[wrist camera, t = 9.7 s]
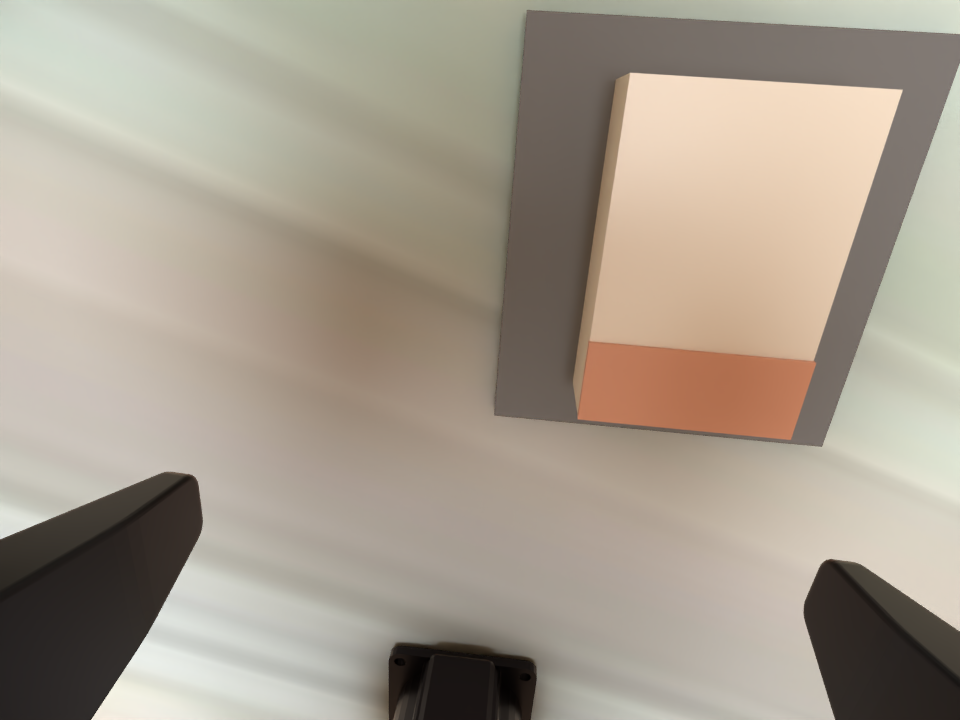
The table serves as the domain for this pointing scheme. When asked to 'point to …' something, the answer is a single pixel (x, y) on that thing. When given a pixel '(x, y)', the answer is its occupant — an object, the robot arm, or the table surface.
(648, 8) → the table surface
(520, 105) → the card mat
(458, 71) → the table surface
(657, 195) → the card deck
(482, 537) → the table surface
